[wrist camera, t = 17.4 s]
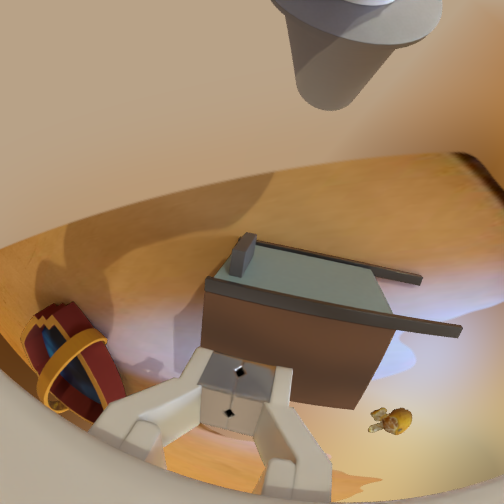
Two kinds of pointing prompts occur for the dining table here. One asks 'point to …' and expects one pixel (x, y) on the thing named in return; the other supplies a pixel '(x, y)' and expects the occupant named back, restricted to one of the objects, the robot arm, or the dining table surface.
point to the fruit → (391, 420)
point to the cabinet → (308, 333)
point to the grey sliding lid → (302, 276)
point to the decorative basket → (71, 362)
